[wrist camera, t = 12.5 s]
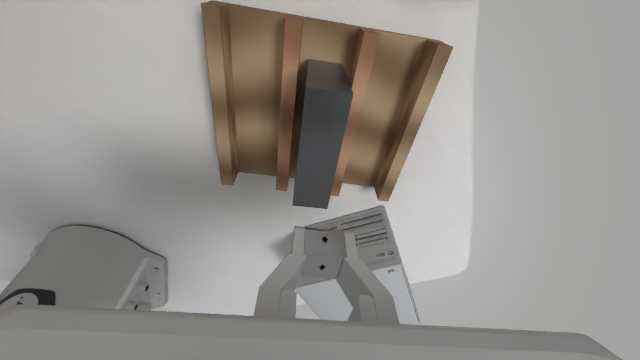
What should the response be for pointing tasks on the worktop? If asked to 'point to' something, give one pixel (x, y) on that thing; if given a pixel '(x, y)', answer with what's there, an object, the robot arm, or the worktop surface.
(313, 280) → the supplement box
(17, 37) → the worktop surface
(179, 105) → the worktop surface
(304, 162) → the block
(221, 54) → the rack
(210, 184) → the worktop surface
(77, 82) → the worktop surface
